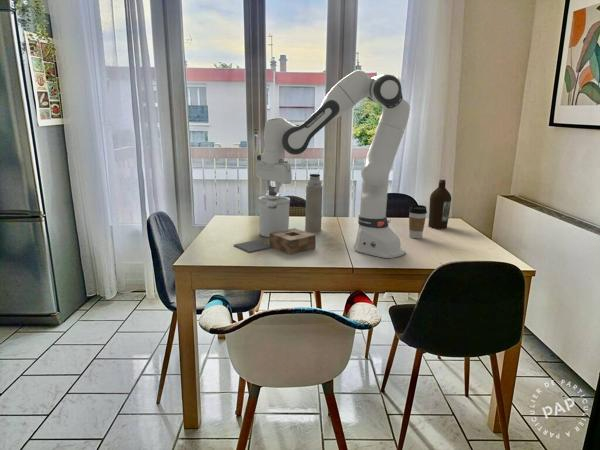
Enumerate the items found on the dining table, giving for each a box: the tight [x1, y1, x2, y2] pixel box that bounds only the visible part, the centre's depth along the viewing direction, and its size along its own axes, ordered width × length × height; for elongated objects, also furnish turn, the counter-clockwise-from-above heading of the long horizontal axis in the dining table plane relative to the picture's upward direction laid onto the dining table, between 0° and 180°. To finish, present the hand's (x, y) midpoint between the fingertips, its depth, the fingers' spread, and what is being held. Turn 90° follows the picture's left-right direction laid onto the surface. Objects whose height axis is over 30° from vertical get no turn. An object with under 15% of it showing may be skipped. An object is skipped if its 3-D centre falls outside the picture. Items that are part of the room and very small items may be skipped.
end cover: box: [264, 185, 281, 209], centre depth 180 cm, size 6×6×9 cm
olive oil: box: [427, 179, 452, 230], centre depth 223 cm, size 11×11×25 cm
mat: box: [233, 239, 274, 254], centre depth 186 cm, size 12×12×1 cm
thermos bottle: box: [304, 173, 324, 233], centre depth 212 cm, size 8×8×28 cm
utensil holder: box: [258, 195, 291, 238], centre depth 204 cm, size 15×15×18 cm
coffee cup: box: [408, 204, 428, 239], centre depth 205 cm, size 8×8×15 cm
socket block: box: [269, 227, 317, 255], centre depth 185 cm, size 14×14×6 cm
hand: (272, 191), depth 180 cm, fingers closed on end cover, 3 cm apart
